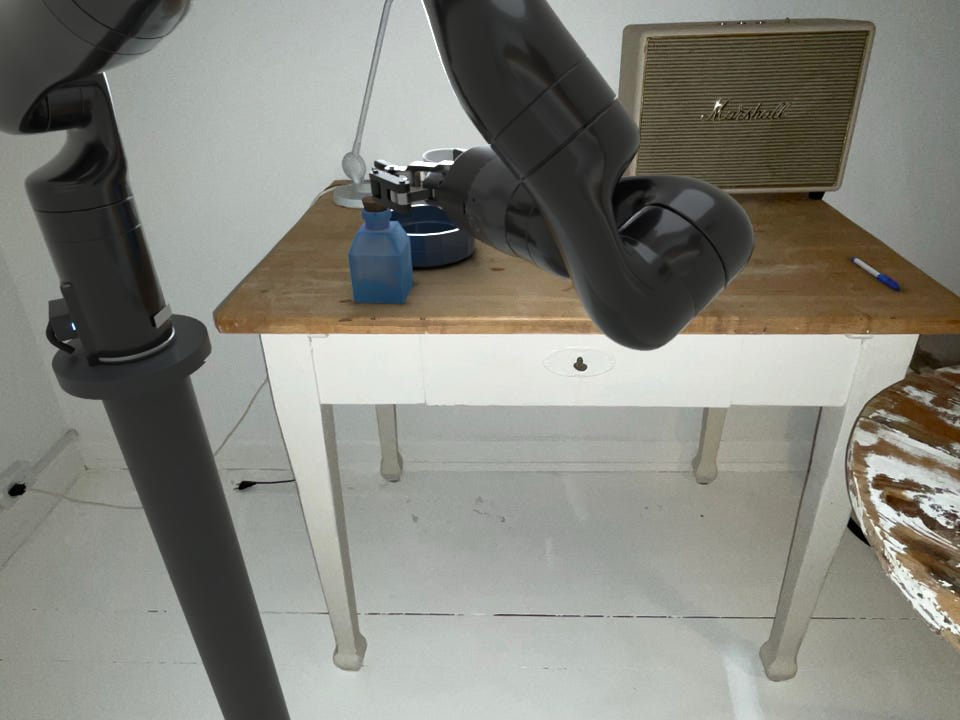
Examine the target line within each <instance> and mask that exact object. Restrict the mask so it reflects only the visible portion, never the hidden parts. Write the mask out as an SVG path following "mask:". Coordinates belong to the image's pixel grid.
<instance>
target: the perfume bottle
mask: <svg viewBox="0 0 960 720" xmlns="http://www.w3.org/2000/svg"><path fill="white" fill-rule="evenodd" d="M361 203H362V205H363V207H362V208H361V218H362V220H364V222H363V224H362V225H361V226H360V227H359V228H358V230H356V231H357V232H356V234H355V236H354V239H353V241H352V244H351V246H350V249H349V251H348V253H347V257H348V264H349V272H350V280H351V287H352V295H353V303H355V304H356V303H357V304H358V303H360V304H396V305H397V304H400V305H404V304H405V303H406V301H407V299H408V296H409V294H410V292H411V290H412V288H413V285H414V275H413V274H414V273H413V267H412V259H411V246H410V237H409V236H408V235H407V233H406V232H405V231H404V229H403V228H402V226H401V225H400V224H399V222H398V221H390V220H389V218H391V209H389V208H387V207H385V206H383V205H381V204H378V203H376V202H374V201H372V198H371V195H366V196H364V197H362V198H361Z"/></svg>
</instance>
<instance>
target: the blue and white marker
mask: <svg viewBox="0 0 960 720" xmlns="http://www.w3.org/2000/svg"><path fill="white" fill-rule="evenodd" d="M851 260H852V261H853V263H854V264H856V265H857V266H859V267H860V268H862V269H863V270H865V271H866V272H867V273H869V274H871V275H872V276H873V277H875V278H876V279H877V280H878V281H880V282H881V283H883V284H884V285H886V286H888V287H889V288H890V289H892V290H893V291H895V292H899V291H900V289H901V287H900V284H899V283H898V282H897V281H896V280H894V279H893V278H892V277H890V276H889V275H887V274H882V273H880V272H879V271H877V270H876V269H874V268H873V267H871V266H869V264H867V263H866V262H864V261H862V260H861V259H859V258H857V257H855V256H852V257H851Z"/></svg>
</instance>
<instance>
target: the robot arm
mask: <svg viewBox="0 0 960 720" xmlns="http://www.w3.org/2000/svg"><path fill="white" fill-rule="evenodd" d="M420 1H421V3H422V6H423V9H424V12H425V15H426V18H427V21H428V25H429V27H430V30H431V33H432V37H433V40H434V43H435V47H436V50H437V52H438V55H439V59H440V63H441V65H442V67H443V70H444V73H445V75H446V78H447V80H448V82H449V85H450V87H451V89H452V92H453V93H454V95H455V97H456V99H457V101H458V102H459V105H460V106H461V108H462V109H463V111H464V113H465V114H466V115H467V118H468V120H470V122H471V123H472V125H473V126H474V127H475V129H476V130H477V132H478V133H479V135H480V136H481V137H482V138H483V139H484V141H485V142H486V143H487V144H479V145H475V146H471V147H470V148H468V149H467V150H465V149H466V148H462V147H459V148H458V147H456V148H457V149H454V150H453V161H443V162H441V163H426V162H423V161H422V162H414V161H413V162H414V163H412V162H411V163H412V164H411V163H410V164H408V165H407V166H399V165H395V164H393V163H392V162H389V161H387V160H384V159H377V160H374V161H373V165H371V170H370V171H368V177H369V183H370V192H371V195H370V196H371V198H372V201H374V202H376V203H378V204H381V205H383V206H385V207H387V208H389V209H391V210H393V211H395V212H397V213H400V214H408V213H411V212H412V206H411V205H432V206H437V207H438V208H440V209H443V211H444V212H445V214H446V215H447V217H448V218H449V220H450V221H451V223H452V224H453V225H454V226H455V227H456V228H457V229H459V230H460V231H462V232H464V233H466V234H468V235H470V236H471V237H473V238H475V239H476V240H477V241H479V242H481V243H483V244H485V245H486V246H489V247H491V248H492V249H495V250H496V251H498V252H501V253H502V254H504V255H508V256H509V257H513V258H517V259H520V260H523V261H525V262H526V263H529V264H530V265H533V266H534V267H537V268H538V269H540V270H543V271H545V272H547V273H548V274H550V275H552V276H555V277H556V278H559V279H562V280H566V281H571V284H572V286H573V288H574V291H575V293H576V295H577V297H578V299H579V301H580V303H581V305H582V307H583V309H584V311H585V313H586V314H587V316H588V317H589V319H590V320H591V322H592V323H593V325H594V326H595V327H596V328H597V329H598V330H599V331H600V332H601V333H602V334H603V335H604V336H605V337H607V338H608V339H609V340H610V341H612V342H614V343H615V344H617V345H619V346H621V347H623V348H627V349H630V350H634V351H638V352H639V351H640V352H650V351H656V350H658V349H660V348H662V347H664V346H666V345H667V344H669V343H670V342H671V341H673V340H674V339H675V338H676V337H677V336H678V335H679V334H680V333H681V332H682V331H684V329H685V328H686V327H687V326H688V325H689V324H690V323H691V322H692V321H694V320H695V318H697V316H699V314H701V312H703V311H704V310H705V308H707V307H708V305H710V304H711V303H712V302H713V301H714V300H715V299H716V298H717V297H718V296H719V295H720V294H721V293H722V291H724V290H725V289H726V288H727V287H728V286H729V285H730V284H732V282H733V281H734V280H735V279H736V278H737V277H738V276H739V275H740V274H741V273H742V272H743V271H744V269H745V268H746V266H747V265H748V264H749V262H750V260H751V258H752V256H753V252H754V251H755V236H756V235H755V231H754V230H755V229H754V226H753V224H752V221H751V218H750V216H749V215H748V213H747V211H746V210H745V208H743V206H742V205H741V204H740V203H739V201H738V200H736V198H734V197H733V196H732V195H730V194H729V193H728V192H726V191H725V190H723V189H722V188H720V187H718V186H717V185H715V184H712V183H710V182H708V181H705V180H702V179H699V178H696V177H692V176H687V175H679V174H641V175H640V174H639V175H625V176H624V174H625V172H626V171H627V170H628V168H629V167H630V165H631V163H632V162H633V161H634V159H635V156H637V154H638V152H639V149H640V147H641V141H642V140H641V139H642V137H641V131H640V129H639V127H638V125H637V123H636V121H635V120H634V118H633V116H632V115H631V113H630V112H629V110H628V109H627V107H626V106H625V105H624V104H623V102H622V101H621V99H620V98H619V97H617V94H616V93H615V91H614V90H613V88H611V86H610V84H609V83H608V82H607V80H606V79H605V78H604V76H603V75H602V74H601V73H600V71H599V69H598V68H597V67H596V66H595V65H594V63H593V61H592V60H591V59H590V58H589V56H587V54H586V52H585V50H584V49H582V47H581V46H580V44H579V43H578V41H576V39H575V38H574V37H573V35H572V34H571V33H570V31H569V30H568V29H567V27H566V26H565V24H564V23H563V22H562V20H561V19H560V17H559V16H558V15H557V13H556V11H554V9H553V8H552V6H551V4H549V3H550V2H548V0H420ZM196 2H197V0H0V132H1V133H2V134H6V135H11V136H37V135H43V134H50V133H55V132H62V131H65V133H66V134H65V135H66V138H65V142H64V144H63V145H62V146H61V148H60V149H59V151H58V152H57V153H56V154H55V155H54V156H53V157H52V158H51V159H49V160H47V162H45V163H43V164H42V165H41V166H39V167H37V168H36V169H34V170H33V171H31V172H30V173H29V174H28V175H26V177H25V179H24V183H23V187H24V190H25V194H26V196H27V199H28V202H29V204H30V205H29V206H30V207H31V209H32V212H33V215H34V217H35V221H36V222H37V226H38V228H39V231H40V233H41V237H42V238H43V241H44V244H45V246H46V249H47V251H48V254H49V256H50V259H51V262H52V265H53V267H54V270H55V272H56V276H57V278H58V280H59V283H58V284H59V290H60V293H61V295H62V297H61V298H56V299H51V300H48V302H47V304H48V321H47V325H46V328H45V337H46V339H47V341H48V342H49V343H50V344H51V345H52V346H53V347H55V348H57V349H58V350H59V349H61V350H63V351H65V352H67V353H69V354H72V353H73V352H74V351H75V348H74V347H72V346H70V345H68V344H66V343H67V342H68V341H70V340H72V339H76V338H79V340H80V343H81V345H82V348H83V351H84V353H85V356H86V358H87V361H88V364H89V366H90V367H92V366H96V365H120V364H127V363H133V362H137V361H141V360H144V359H147V358H150V357H152V356H155V355H157V354H159V353H161V352H163V351H164V350H166V349H167V348H169V347H170V346H171V345H172V344H173V343H174V341H175V339H176V334H175V330H174V327H173V326H172V322H171V319H170V316H171V315H172V314H173V312H172V307H171V304H170V303H168V304H167V303H166V299H165V297H164V292H163V290H162V286H161V282H160V280H159V276H158V273H157V269H156V266H155V262H154V259H153V256H152V253H151V250H150V246H149V243H148V239H147V235H146V232H145V229H144V226H143V225H144V224H143V222H142V219H141V215H140V212H139V209H138V205H137V202H136V199H135V196H134V192H133V191H134V190H133V188H132V185H131V181H130V170H129V167H130V166H129V159H128V157H127V152H126V149H125V145H124V144H125V143H124V141H123V136H122V132H121V129H120V128H121V127H120V124H119V119H118V114H117V111H116V107H115V102H114V98H113V94H112V93H113V92H112V89H111V86H110V82H109V77H108V75H107V72H108V71H112V70H114V69H117V68H120V67H123V66H125V65H129V64H130V63H133V62H135V61H136V60H138V59H140V58H142V57H144V56H146V55H147V54H149V53H150V52H152V51H153V50H154V49H156V48H157V47H158V46H159V45H160V44H162V43H163V41H165V40H166V39H167V38H168V37H169V36H170V35H171V34H173V32H174V31H176V29H178V28H179V27H180V26H181V25H182V23H183V22H184V21H185V20H186V19H187V18H188V17H189V16H190V13H191V12H192V10H193V9H194V6H195V4H196ZM424 172H428V174H427V176H426V177H425V179H424V178H423V180H422V177H421V173H424ZM400 176H405V177H403V178H401V177H400ZM421 182H422V187H421ZM66 341H67V342H66Z"/></svg>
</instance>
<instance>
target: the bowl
mask: <svg viewBox="0 0 960 720" xmlns="http://www.w3.org/2000/svg"><path fill="white" fill-rule="evenodd" d="M411 206H412V212H411V213H408V214H400V213H397V212H395V211H393V210H391V218H389V220H390V221H398V222H399V224H400V225H401V226H402V228H403V229H404V231H405V232H406V233H407V235H408V236H409V237H410V246H411V259H412V268H413V267H414V268H431V267H440V266H445V265H448V264H449V265H450V264H454V263H457V262H459V261H462V260H464V259H466V258H469V257H470V256H471V255H472V254H473V253H475V250H476V247H477V243H476V242H477V241H476V240H477V239H475V238H473V237H471V236H470V235H468V234H466V233H464V232H462V231H460V230H459V229H457V228H456V227H455V226H454V225H453V224H452V223H451V221H450V220H449V218H448V217H447V215H446V214H445V212H444V211H443V209H440V208H438V207H437V206H432V205H420V204H411Z"/></svg>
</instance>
